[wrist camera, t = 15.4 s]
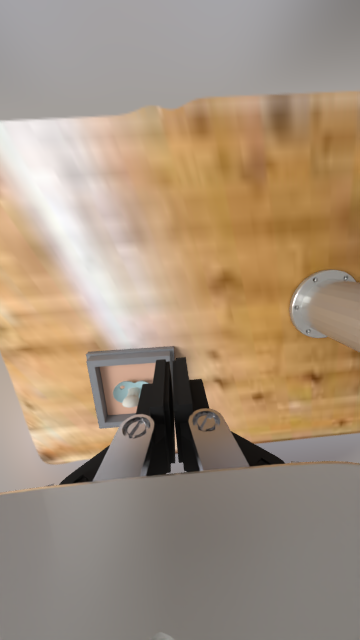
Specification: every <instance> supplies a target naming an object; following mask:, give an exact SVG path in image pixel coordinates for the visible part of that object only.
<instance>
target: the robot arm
mask: <svg viewBox="0 0 360 640" xmlns="http://www.w3.org/2000/svg"><path fill="white" fill-rule="evenodd" d="M290 317H291V320H292V323H293V325H294V326H295V327H296V328H297V330H299V331H300V332H301V333H303V334H305V335H307V336H310V337H313V338H325V337H330V338H332V339H334V340H336V341H338V342H340V343H342V344H344V345H346V346H348V347H350V348H352V349H354V350H356V351H358V352H360V283H359V282H356V281H355V279H354V278H353V277H352V276H351V275H349V274H347V273H346V272H343V271H339V270H323V271H319V272H317V273H314V274H312V275H311V276H309V277H308V278H306V279H305V280H304V281H303V282H302V283H301V284H300V285H299V286H298V288H297V289H296V290H295V292H294V294H293V296H292V299H291V303H290ZM174 418H175V428H176V438H177V449H178V459H179V463H181V462H183V464H184V471H187V472H184V473H174V474H166V473H169V472H170V471H171V463H175V431H174ZM0 640H360V464H359V463H352V462H336V461H322V462H294V461H291V463H287V464H285V463H284V462H283V461H282V460H281V459H279V458H278V457H276V456H275V455H273V454H271V453H269V452H267V451H266V450H264V449H262V448H260V447H259V446H257V445H255V444H253V443H251V442H250V441H248V440H246V439H244V438H242V437H240V436H239V435H237V434H235V433H233V432H231V431H230V429H229V427H228V425H227V424H226V422H225V420H224V418H223V416H222V415H221V414H220V413H219V412H217V411H215V410H213V409H209V406H208V402H207V398H206V394H205V390H204V386H203V382H202V379H196V380H189V377H188V371H187V364H186V357H184V358H176V361H173V390H172V380H171V369H170V361H167V362H166V359H161V360H156V364H155V371H154V378H153V383H150V384H143V385H142V389H141V393H140V398H139V402H138V406H137V411H136V415H134V416H131V417H129V418H127V419H126V420H124V421H123V422H122V424H121V425H120V426H119V428H118V430H117V432H116V435H115V437H114V439H113V441H112V443H111V445H109V446H108V447H107V448H105V449H104V450H103V451H101V452H100V453H99V454H97V455H96V456H94V457H93V458H92V459H90V460H89V461H88V462H86V463H85V464H84V465H82V466H81V467H80V468H78V469H77V470H76V471H74V472H73V473H71V474H70V475H69V476H68V477H66V478H65V479H64V480H63V481H62V482H61V483H60V484H59V485H56V486H54V484H51V485H48V486H45V487H37V488H30V489H23V490H15V491H9V492H1V493H0Z"/></svg>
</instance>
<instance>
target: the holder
mask: <svg viewBox="0 0 360 640" xmlns="http://www.w3.org/2000/svg"><path fill="white" fill-rule="evenodd" d="M86 356H87V361H86V362H87V367H88V372H89V377H90V382H91V387H92V392H93V398H94V403H95V408H96V413H97V418H98V423H99V428H112V427H119V426H120V425H121V424H122V422H123V421H124V420H126V419H127V418H129V417H131V416H134V415H136V411H137V406H135V407H131V408H128V407H124V406H123V405H122V403H120V402H118V401H117V400H116V399H115V398H114V397H113V391H114V389H115V387H116V386H117V385H118V384H119V383H121V382H123V381H131V382H138V381H146V382H148V383H149V384H150V383H153V378H154V371H155V364H156V360H161V359H166V362H167V361H170V369H171V380H172V390H173V361H175V360H174V346H171V347H156V348H141V349H126V350H111V351H96V352H88V353H87V354H86ZM120 388H121V389H123V388H125V386H121V387H120Z"/></svg>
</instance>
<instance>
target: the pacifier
mask: <svg viewBox="0 0 360 640" xmlns="http://www.w3.org/2000/svg"><path fill="white" fill-rule="evenodd" d="M143 384H149V383H148V382H146V381H138V382H131V381H123V382H121V383H119V384H118V385H117V386H116V387H115V389H114V391H113V397H114V398H115V399H116V400H117V401H118V402H120V403H122V405H123V406H124V407H128V408H131V407H135V406H138V402H139V398H140V393H141V389H142V385H143ZM121 386H125V388H123V389H121V388H120V387H121Z"/></svg>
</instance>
